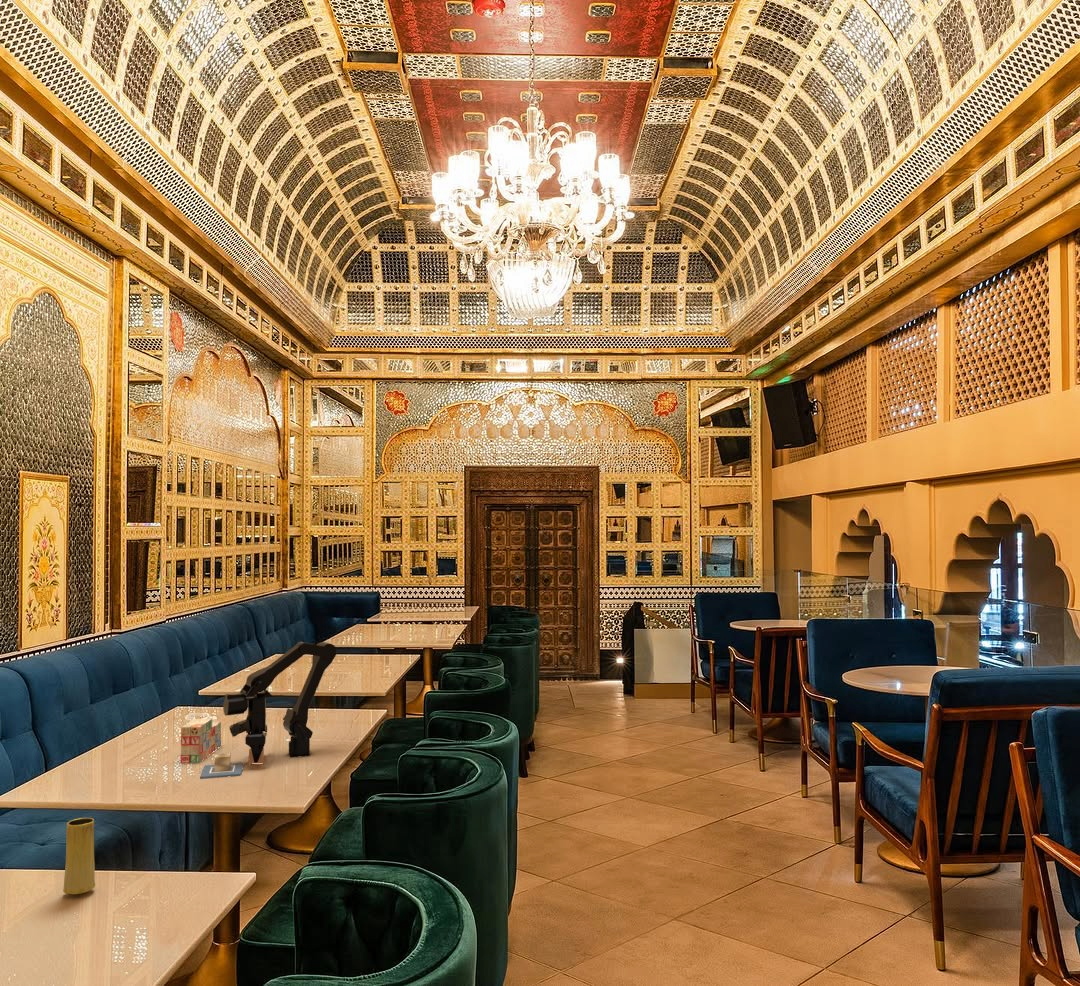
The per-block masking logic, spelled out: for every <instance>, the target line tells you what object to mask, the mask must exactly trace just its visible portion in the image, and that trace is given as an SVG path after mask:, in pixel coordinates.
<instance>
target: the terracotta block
mask: <svg viewBox="0 0 1080 986" xmlns="http://www.w3.org/2000/svg"><path fill="white" fill-rule="evenodd" d="M264 752H265V746H264V747H263V750H262V752H261V755H260V758H259V760H258V762H257V763H263V764H264V762H263V761H265V755H264V754H265V753H264ZM252 763H254V759H253V755H252V750H251V747H249V750H248V765H249V764H252Z"/></svg>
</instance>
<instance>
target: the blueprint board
mask: <svg viewBox="0 0 1080 986" xmlns="http://www.w3.org/2000/svg"><path fill="white" fill-rule="evenodd" d="M243 763H244V762H234V763H231V764H230V771H220V772H214V766H215V764H207V765H206V764H205V765H204V766H203V768H202V771H201V773H200V776H199V780H200V779H201V780H204V779H216V778H215V777H217V778H228V776H231V777H240V775H241V776H242V773H243V769H242V768H244V764H243ZM241 772H242V773H241Z"/></svg>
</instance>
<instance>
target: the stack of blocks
mask: <svg viewBox="0 0 1080 986" xmlns="http://www.w3.org/2000/svg"><path fill="white" fill-rule="evenodd" d="M221 723H222V722H221V721H217V722H212V719H202V718H195V719H194V720H192V721H191V722H189V723H188V722H187V724H186V725H185V724H184V725H183V726H181V727H180V764H181V765H182V764H183V765H184V764H185V763H187V764H200V763H202V762H203V761H204V760H203V759H205V758H206V757H207V756H209V754H211V753H212V752H213V751H215V750H216V749H218V747H220V746H221V747H222V730H221V729H222V726H221V725H222V724H221ZM218 750H219V749H218ZM215 752H216V751H215ZM212 754H213V753H212ZM212 754H211V755H212ZM209 757H210V756H209ZM206 759H207V758H206ZM206 759H205V760H206ZM202 760H203V761H202ZM201 761H202V762H201Z"/></svg>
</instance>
